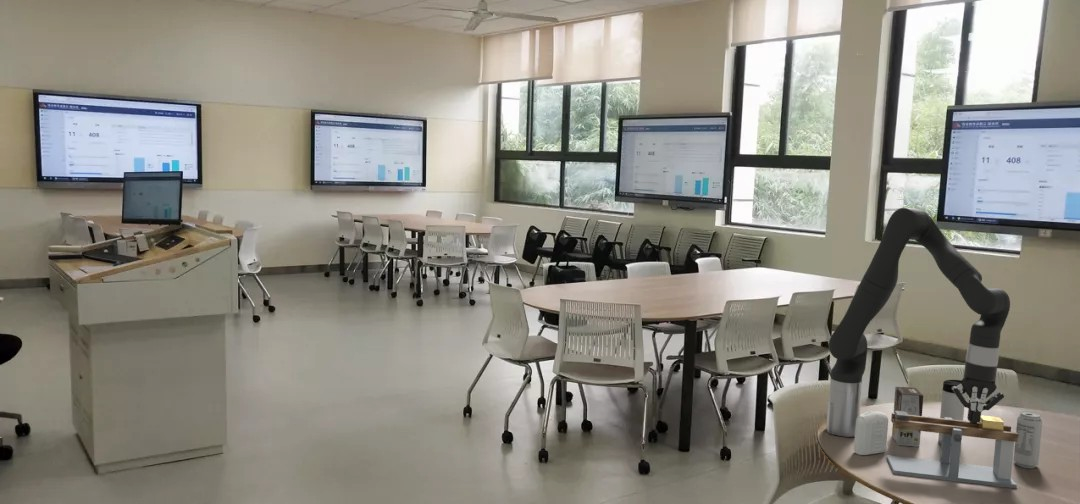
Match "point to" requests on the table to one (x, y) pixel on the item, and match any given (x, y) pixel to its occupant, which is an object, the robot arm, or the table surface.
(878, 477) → the table surface
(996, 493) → the table surface
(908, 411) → the coffee box
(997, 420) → the gold metal cube
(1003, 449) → the stand
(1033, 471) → the table surface
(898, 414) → the beam
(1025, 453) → the energy drink can
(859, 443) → the photo printer
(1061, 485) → the table surface
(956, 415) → the travel mug
